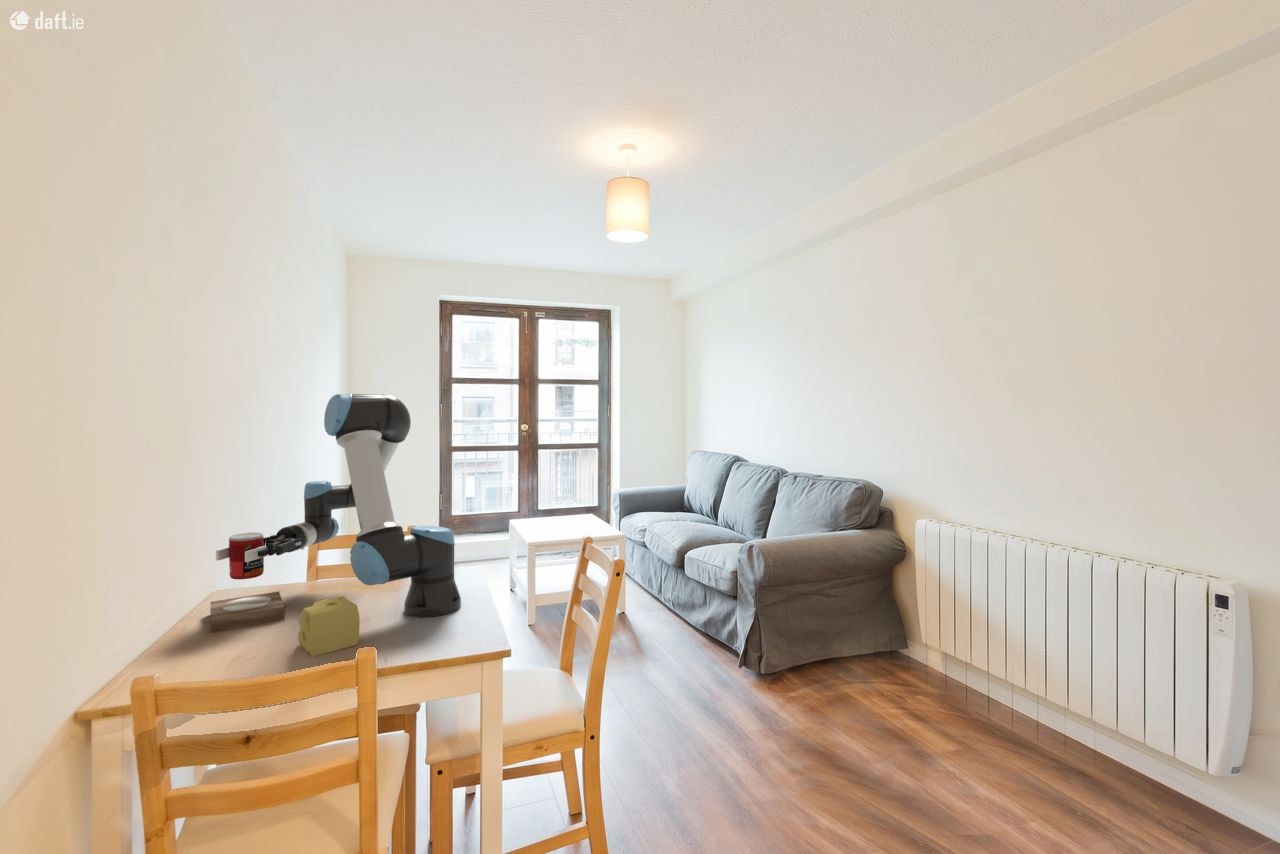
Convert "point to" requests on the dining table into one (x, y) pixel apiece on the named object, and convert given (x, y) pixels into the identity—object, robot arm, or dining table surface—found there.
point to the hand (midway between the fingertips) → (231, 556)
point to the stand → (246, 611)
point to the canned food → (237, 555)
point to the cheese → (329, 626)
